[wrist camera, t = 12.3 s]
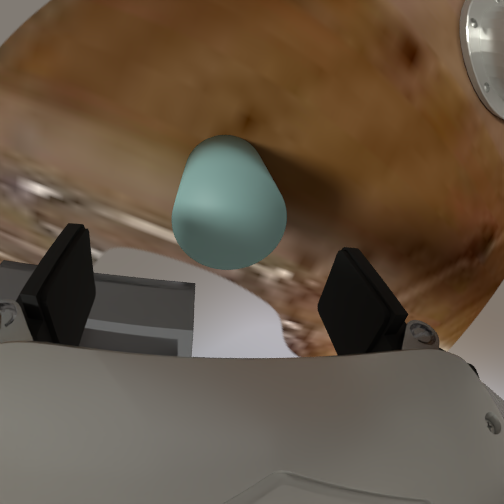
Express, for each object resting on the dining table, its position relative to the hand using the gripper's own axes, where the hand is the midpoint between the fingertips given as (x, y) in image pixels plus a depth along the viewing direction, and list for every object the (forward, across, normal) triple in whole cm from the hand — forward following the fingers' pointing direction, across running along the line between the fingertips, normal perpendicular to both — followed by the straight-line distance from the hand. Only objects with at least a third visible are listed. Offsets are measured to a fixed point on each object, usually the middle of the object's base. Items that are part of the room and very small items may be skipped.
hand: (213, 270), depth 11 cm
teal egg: (+10, -1, -1) cm, 10 cm away
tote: (+10, +9, +15) cm, 20 cm away
